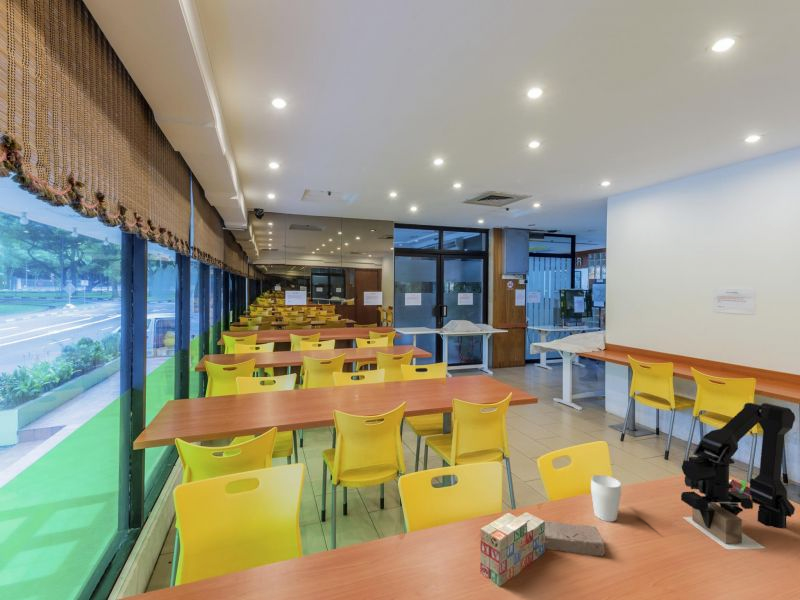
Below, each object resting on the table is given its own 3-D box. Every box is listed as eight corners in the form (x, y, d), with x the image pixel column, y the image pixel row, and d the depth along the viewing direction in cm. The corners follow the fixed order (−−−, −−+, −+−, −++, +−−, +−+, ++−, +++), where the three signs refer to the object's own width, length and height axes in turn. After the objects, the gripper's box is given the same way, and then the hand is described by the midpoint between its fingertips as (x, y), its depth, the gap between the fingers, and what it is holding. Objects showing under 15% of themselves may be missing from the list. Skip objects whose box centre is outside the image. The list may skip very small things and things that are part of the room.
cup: (621, 514, 130) (621, 479, 130) (619, 527, 123) (620, 490, 122) (591, 506, 135) (592, 472, 135) (588, 518, 127) (589, 482, 127)
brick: (543, 550, 111) (544, 534, 111) (539, 532, 120) (539, 518, 120) (605, 559, 108) (605, 543, 108) (596, 541, 116) (597, 525, 116)
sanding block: (706, 519, 124) (707, 498, 124) (741, 542, 112) (742, 519, 112) (692, 520, 124) (692, 498, 124) (725, 543, 112) (725, 519, 112)
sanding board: (717, 521, 127) (717, 516, 127) (765, 553, 111) (765, 548, 111) (682, 521, 126) (682, 517, 126) (726, 554, 110) (726, 549, 110)
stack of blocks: (526, 542, 115) (526, 501, 115) (545, 553, 110) (545, 510, 110) (479, 573, 101) (480, 527, 101) (499, 587, 96) (499, 539, 96)
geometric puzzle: (754, 491, 143) (738, 471, 145) (762, 499, 137) (746, 479, 138) (734, 499, 145) (719, 479, 147) (742, 508, 139) (725, 487, 141)
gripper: (722, 465, 127) (721, 512, 127) (668, 466, 126) (667, 513, 126) (755, 481, 116) (754, 532, 116) (696, 482, 115) (695, 534, 115)
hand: (715, 527), depth 118 cm, fingers closed on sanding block, 5 cm apart
